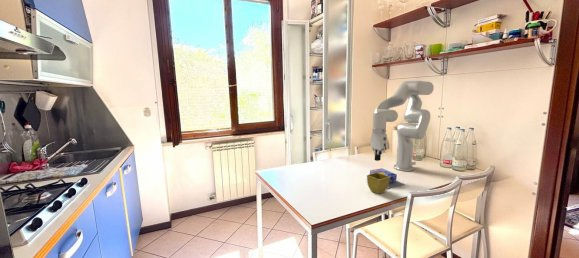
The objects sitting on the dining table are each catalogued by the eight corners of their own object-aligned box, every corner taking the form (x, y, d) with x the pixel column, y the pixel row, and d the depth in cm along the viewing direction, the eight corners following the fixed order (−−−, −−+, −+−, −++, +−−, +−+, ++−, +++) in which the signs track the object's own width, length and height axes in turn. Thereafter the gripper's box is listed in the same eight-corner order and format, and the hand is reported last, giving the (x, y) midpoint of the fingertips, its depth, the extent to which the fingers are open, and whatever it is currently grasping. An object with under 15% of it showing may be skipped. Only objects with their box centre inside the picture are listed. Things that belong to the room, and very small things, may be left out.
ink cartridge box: (382, 167, 157) (400, 175, 144) (381, 175, 159) (399, 184, 145) (369, 169, 154) (387, 178, 141) (369, 178, 155) (386, 187, 142)
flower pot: (376, 187, 143) (377, 171, 141) (389, 192, 135) (390, 176, 134) (365, 190, 138) (366, 175, 136) (378, 196, 131) (379, 180, 129)
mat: (385, 176, 159) (385, 175, 159) (404, 184, 145) (404, 184, 145) (367, 179, 153) (367, 179, 153) (386, 189, 140) (386, 188, 140)
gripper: (393, 132, 146) (391, 162, 149) (375, 128, 159) (373, 156, 162) (383, 133, 143) (381, 164, 146) (365, 129, 156) (364, 157, 159)
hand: (377, 160), depth 154 cm, fingers closed
